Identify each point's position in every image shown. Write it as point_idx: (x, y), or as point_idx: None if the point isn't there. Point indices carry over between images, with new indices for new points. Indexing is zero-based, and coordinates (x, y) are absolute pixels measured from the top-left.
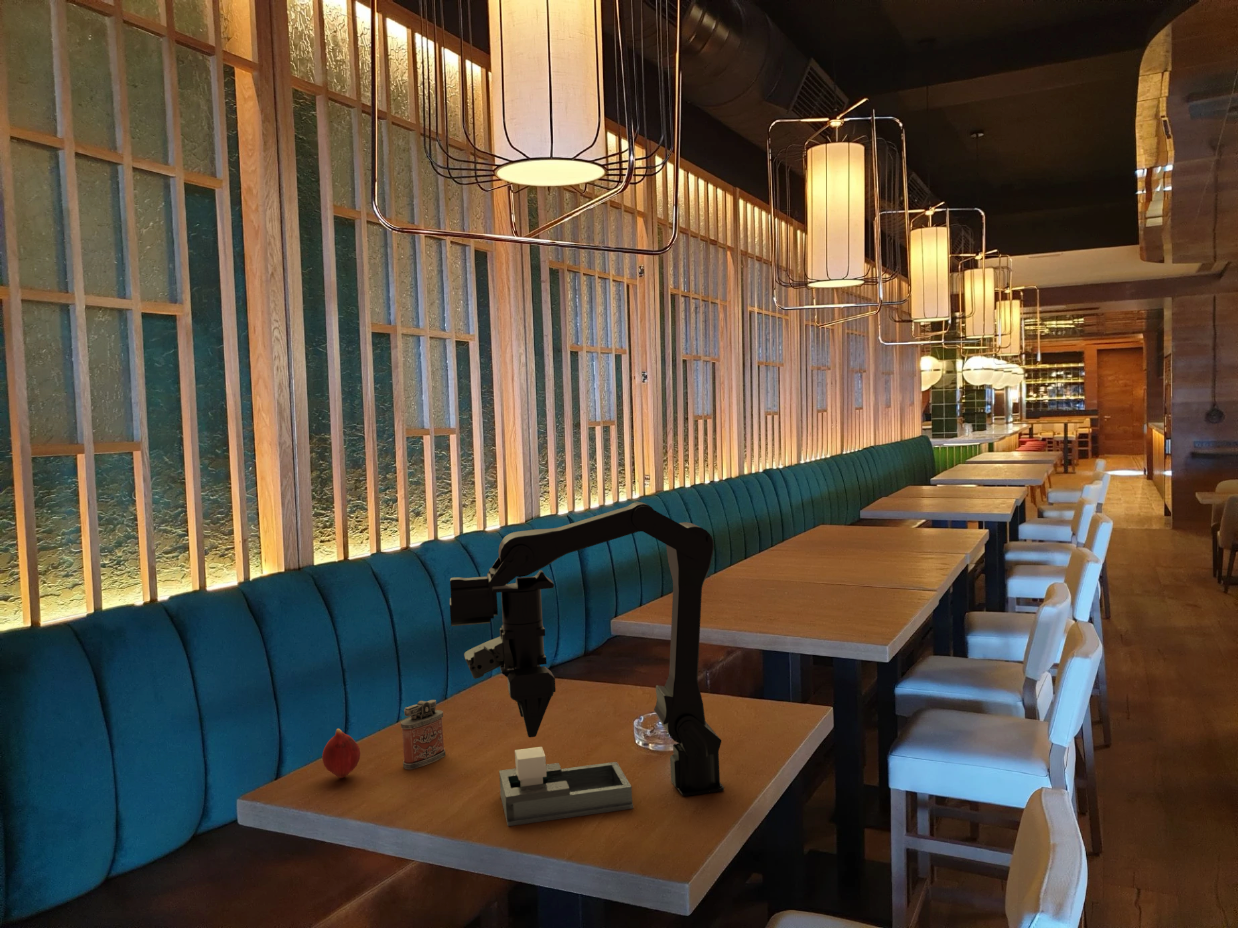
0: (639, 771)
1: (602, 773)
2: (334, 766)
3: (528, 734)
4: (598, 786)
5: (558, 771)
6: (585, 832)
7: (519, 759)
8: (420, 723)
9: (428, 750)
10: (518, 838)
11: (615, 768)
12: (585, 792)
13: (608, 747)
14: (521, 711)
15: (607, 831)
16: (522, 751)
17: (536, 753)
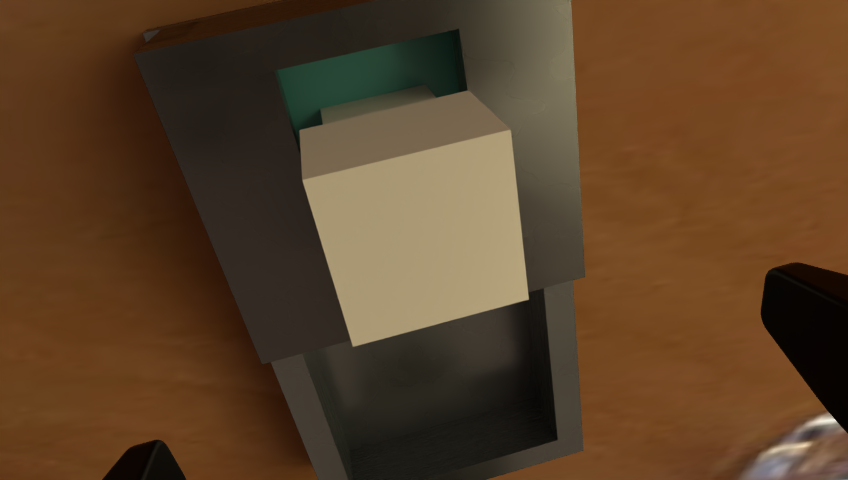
0: (608, 444)
1: (542, 391)
2: None
3: (110, 474)
4: (491, 362)
5: None
6: (112, 356)
7: (306, 192)
8: None
9: None
10: (11, 101)
11: (519, 455)
12: (291, 394)
13: None
14: (805, 303)
15: (128, 420)
16: (468, 190)
17: (410, 287)
